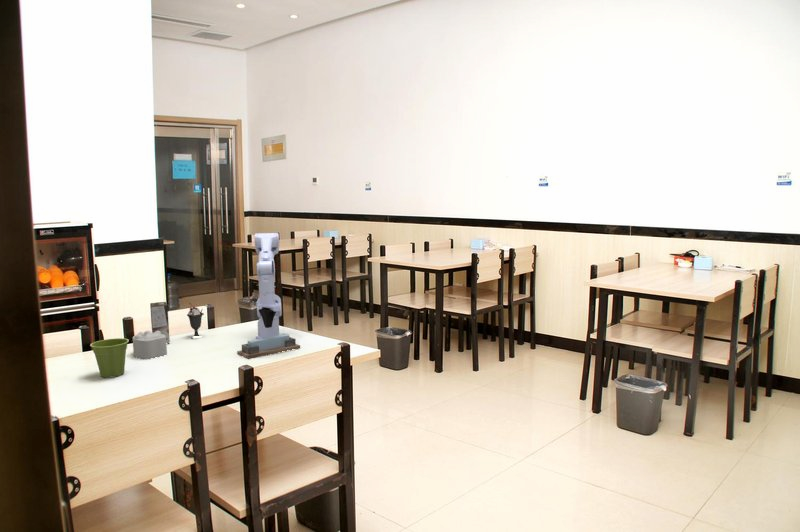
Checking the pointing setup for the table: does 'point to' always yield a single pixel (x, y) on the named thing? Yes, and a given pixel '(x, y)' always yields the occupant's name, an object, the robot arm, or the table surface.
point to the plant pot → (110, 356)
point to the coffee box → (160, 318)
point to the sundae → (195, 318)
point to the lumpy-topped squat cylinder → (149, 345)
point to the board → (254, 351)
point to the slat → (269, 342)
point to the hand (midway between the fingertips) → (268, 327)
